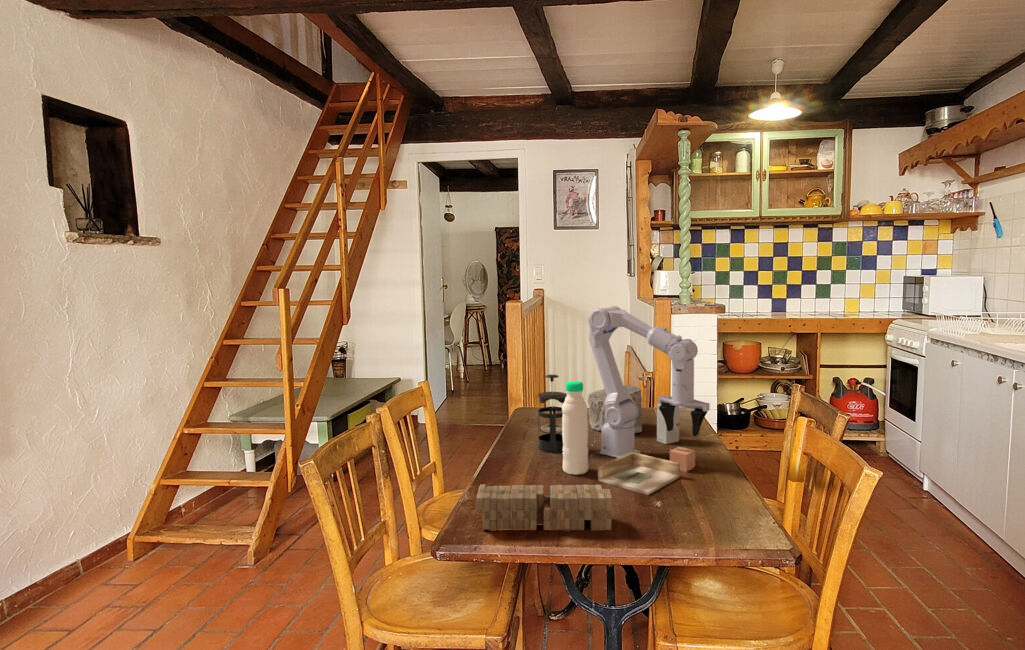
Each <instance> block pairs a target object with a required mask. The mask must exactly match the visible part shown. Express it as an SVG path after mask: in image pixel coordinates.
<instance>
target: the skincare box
mask: <svg viewBox="0 0 1025 650" xmlns="http://www.w3.org/2000/svg"><path fill="white" fill-rule="evenodd" d="M659 406H661V404H658V403H656V442H658V443H661V444H664V445H669V444H674V443H677V442H679V441H680V407H679V406H675V410H674V418H673V421H674V425H673V430H671V431H667V427H666V423H665V420H664V417H663V415H662V413H661V411H660V410H659Z"/></svg>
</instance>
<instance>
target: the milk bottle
mask: <svg viewBox="0 0 1025 650" xmlns="http://www.w3.org/2000/svg"><path fill="white" fill-rule="evenodd" d="M583 390H584V384H583V382H582V381H579V380H571V381H570V380H569V381H567V382H566V383H565V392H566V394H567V396H566V397H565V402H564V403H562V406H561V407H562V412H561V413H563V416H562V417H561V418H562V419H561V425H562V433H561V434H562V438H563V452H562V470H563V472H564V473H566V474H568V475H572V474H573V475H575V476H577V475H579V474H580V475H584V474H586V473H588V471H589V460H588V458H589V457H588V456H589V447H588V441H589V440H588V439H589V421H588V420H589V418H588V412H589V406H588V405H587V402H586V401H585V399H584V396H583V395H582V393H583Z"/></svg>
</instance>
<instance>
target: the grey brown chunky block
mask: <svg viewBox="0 0 1025 650" xmlns="http://www.w3.org/2000/svg"><path fill="white" fill-rule="evenodd" d="M623 386H624V389H625V391H626V392H627V393H629V394H630V395H631V397H632V400H633V401H634V402H635V404H636V405H637V407H638V410H639V414H638V417H637V418H636V419H635V423H634V434H637V433H642V431H643V427H642V426H643V409H642V402H643V397H642V388H640V387H637V386H633V385H631V384H630V385H629V384H623ZM606 398H607V394H606V391H605V388H604V389H600V390H596V391H593V392H590V393H588V394H587V403H588V413H589V416H588V417H589V418H588V420H589V421H588V423H589V426H590V428H591V429H592V430H594V431H598V432H601V430H602V427H603V425H604V424H605V423H607V421H606V418H605V406H604V403H605V400H606Z"/></svg>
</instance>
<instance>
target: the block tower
mask: <svg viewBox="0 0 1025 650" xmlns="http://www.w3.org/2000/svg"><path fill="white" fill-rule="evenodd" d="M602 486H603V485H602V484H595V485H594V484H569V485H568V484H564V485H563V484H557V485H555V484H554V485H553V484H552V485H550V486H549V487H550V488H549V495H545V493H544V491H545V490H544V489H545V488H544V485H543V484H537V485H536V484H535V485H534V484H532V485H531V484H529V485H524V484H518V485H516V484H512V485H493V486H491V485H487V484H483V483H482V484H480V485H479V487H478V490H477V491H478V492H477V495H476V500H475V502H476V509H478V510H482V530H483V529H537V527H538V526H537V524H543V526H542V527H543V529H557V530H558V529H563V531H565V530H564V529H571V530H577V531H578V530H583V531H585V521H588V523H589V528H591V529H590V531H605V530H611V531H612V516H613V515H612V514H613V497H612V496H613V495H612V493H611V490H610V489H609V488H603V487H602ZM557 530H556V531H557ZM571 530H570V531H571Z"/></svg>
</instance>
